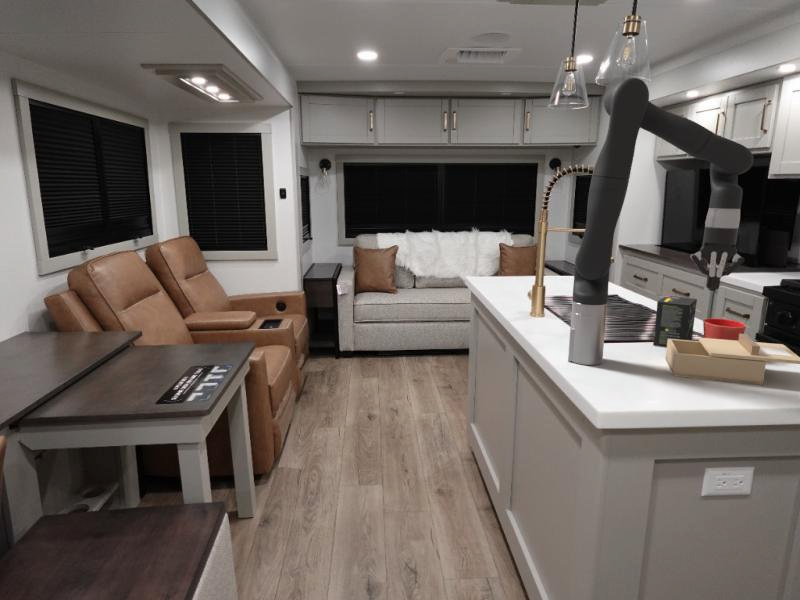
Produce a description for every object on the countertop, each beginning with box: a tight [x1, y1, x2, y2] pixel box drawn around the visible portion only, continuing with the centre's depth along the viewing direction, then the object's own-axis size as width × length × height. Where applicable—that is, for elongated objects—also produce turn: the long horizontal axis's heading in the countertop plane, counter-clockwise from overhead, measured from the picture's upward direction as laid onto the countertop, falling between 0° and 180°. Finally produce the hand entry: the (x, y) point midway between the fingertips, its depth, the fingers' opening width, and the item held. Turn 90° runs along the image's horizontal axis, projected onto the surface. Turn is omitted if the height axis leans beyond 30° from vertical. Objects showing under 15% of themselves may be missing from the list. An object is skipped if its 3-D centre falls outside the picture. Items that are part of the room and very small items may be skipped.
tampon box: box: [652, 295, 698, 348], centre depth 161 cm, size 11×9×15 cm
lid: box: [698, 333, 800, 365], centre depth 134 cm, size 20×15×3 cm
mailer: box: [665, 339, 767, 386], centre depth 138 cm, size 20×15×6 cm
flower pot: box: [702, 317, 747, 341], centre depth 152 cm, size 11×11×10 cm
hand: (712, 290), depth 139 cm, fingers closed
